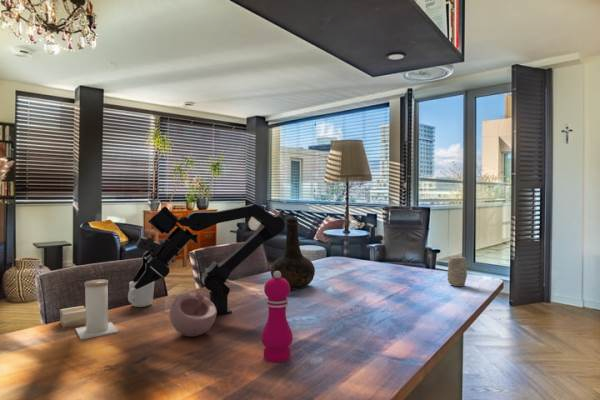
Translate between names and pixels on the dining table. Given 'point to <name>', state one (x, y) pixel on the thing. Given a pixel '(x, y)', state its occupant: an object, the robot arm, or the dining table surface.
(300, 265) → the dark brown vase
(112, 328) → the mat
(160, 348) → the dining table surface
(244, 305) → the dining table surface
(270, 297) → the pepper mill
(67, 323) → the oak block
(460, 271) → the carving
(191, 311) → the mortar and pestle
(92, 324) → the tumbler
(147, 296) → the cup
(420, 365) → the dining table surface
